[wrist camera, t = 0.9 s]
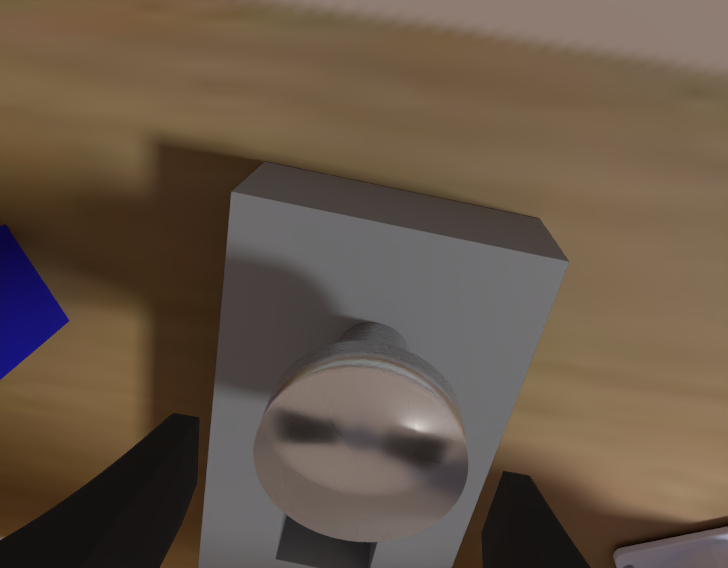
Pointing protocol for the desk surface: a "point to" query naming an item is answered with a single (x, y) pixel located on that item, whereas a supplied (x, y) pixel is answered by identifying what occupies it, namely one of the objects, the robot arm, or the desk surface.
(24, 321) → the cable clip
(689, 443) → the desk surface
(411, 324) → the grey flat block
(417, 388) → the headed pin
